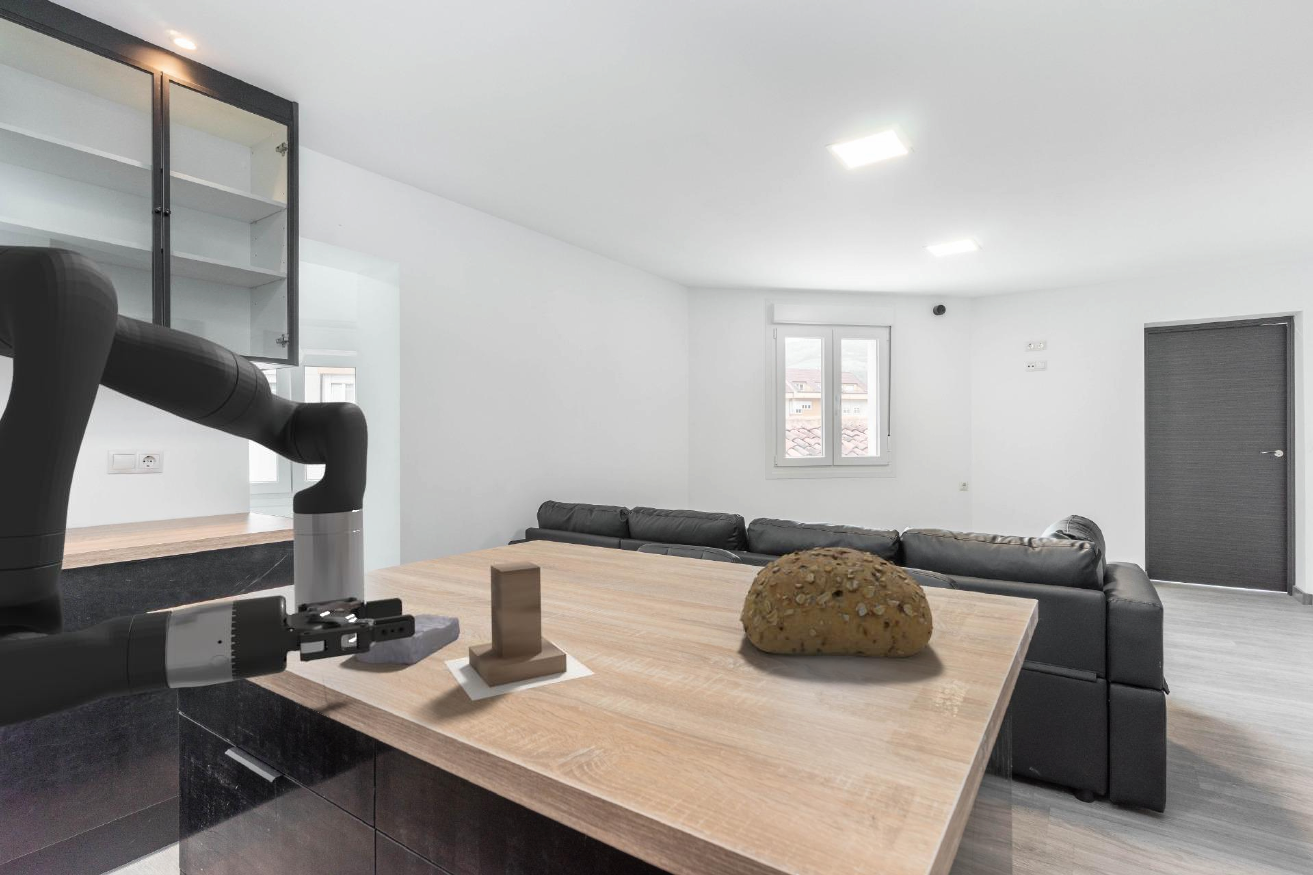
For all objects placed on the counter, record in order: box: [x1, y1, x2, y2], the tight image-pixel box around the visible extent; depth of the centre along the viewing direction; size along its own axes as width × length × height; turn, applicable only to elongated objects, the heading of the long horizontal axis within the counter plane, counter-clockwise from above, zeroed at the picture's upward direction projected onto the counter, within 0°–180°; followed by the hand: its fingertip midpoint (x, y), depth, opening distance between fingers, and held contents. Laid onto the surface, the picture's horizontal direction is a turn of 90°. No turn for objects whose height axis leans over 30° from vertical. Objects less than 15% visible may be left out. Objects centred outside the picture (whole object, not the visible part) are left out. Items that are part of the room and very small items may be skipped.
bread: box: [739, 546, 934, 658], centre depth 87 cm, size 24×21×12 cm
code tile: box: [443, 641, 596, 702], centre depth 76 cm, size 14×14×1 cm
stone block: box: [354, 613, 461, 665], centre depth 84 cm, size 12×5×10 cm
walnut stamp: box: [468, 560, 567, 687], centre depth 76 cm, size 9×9×12 cm
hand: (407, 615), depth 70 cm, fingers open, 8 cm apart
